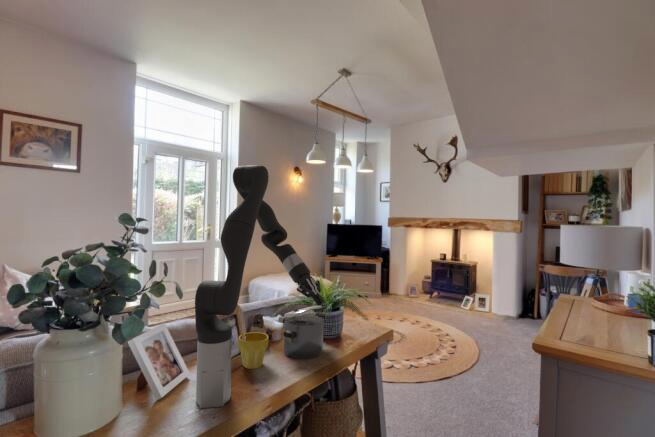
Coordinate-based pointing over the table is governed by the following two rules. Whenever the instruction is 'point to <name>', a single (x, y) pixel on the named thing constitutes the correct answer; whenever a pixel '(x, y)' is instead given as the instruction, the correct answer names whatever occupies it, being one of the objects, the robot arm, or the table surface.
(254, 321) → the figurine
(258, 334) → the plant pot
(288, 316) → the cooker lid
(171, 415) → the table surface
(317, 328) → the cooker pot
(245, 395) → the table surface
